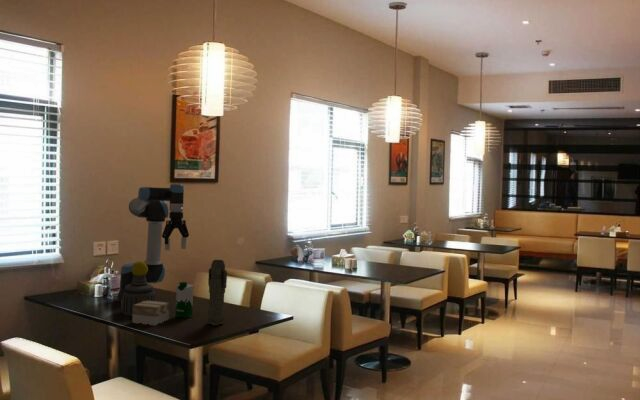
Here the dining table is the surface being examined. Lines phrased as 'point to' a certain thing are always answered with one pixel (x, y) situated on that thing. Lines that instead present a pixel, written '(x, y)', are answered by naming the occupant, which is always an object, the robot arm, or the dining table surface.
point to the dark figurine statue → (217, 291)
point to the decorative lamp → (137, 289)
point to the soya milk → (184, 300)
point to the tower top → (151, 308)
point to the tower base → (150, 319)
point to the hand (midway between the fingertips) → (175, 249)
